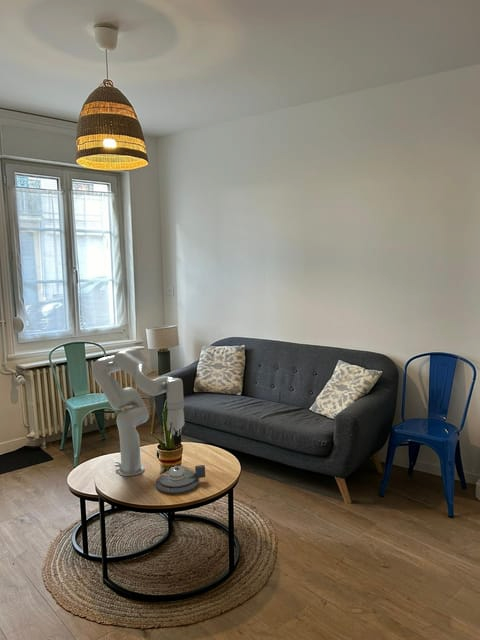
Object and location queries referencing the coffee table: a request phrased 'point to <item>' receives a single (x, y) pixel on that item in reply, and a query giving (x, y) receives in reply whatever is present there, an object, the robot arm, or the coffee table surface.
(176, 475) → the cover
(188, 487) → the turntable base
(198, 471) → the round gray housing
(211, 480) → the coffee table surface
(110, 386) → the robot arm
